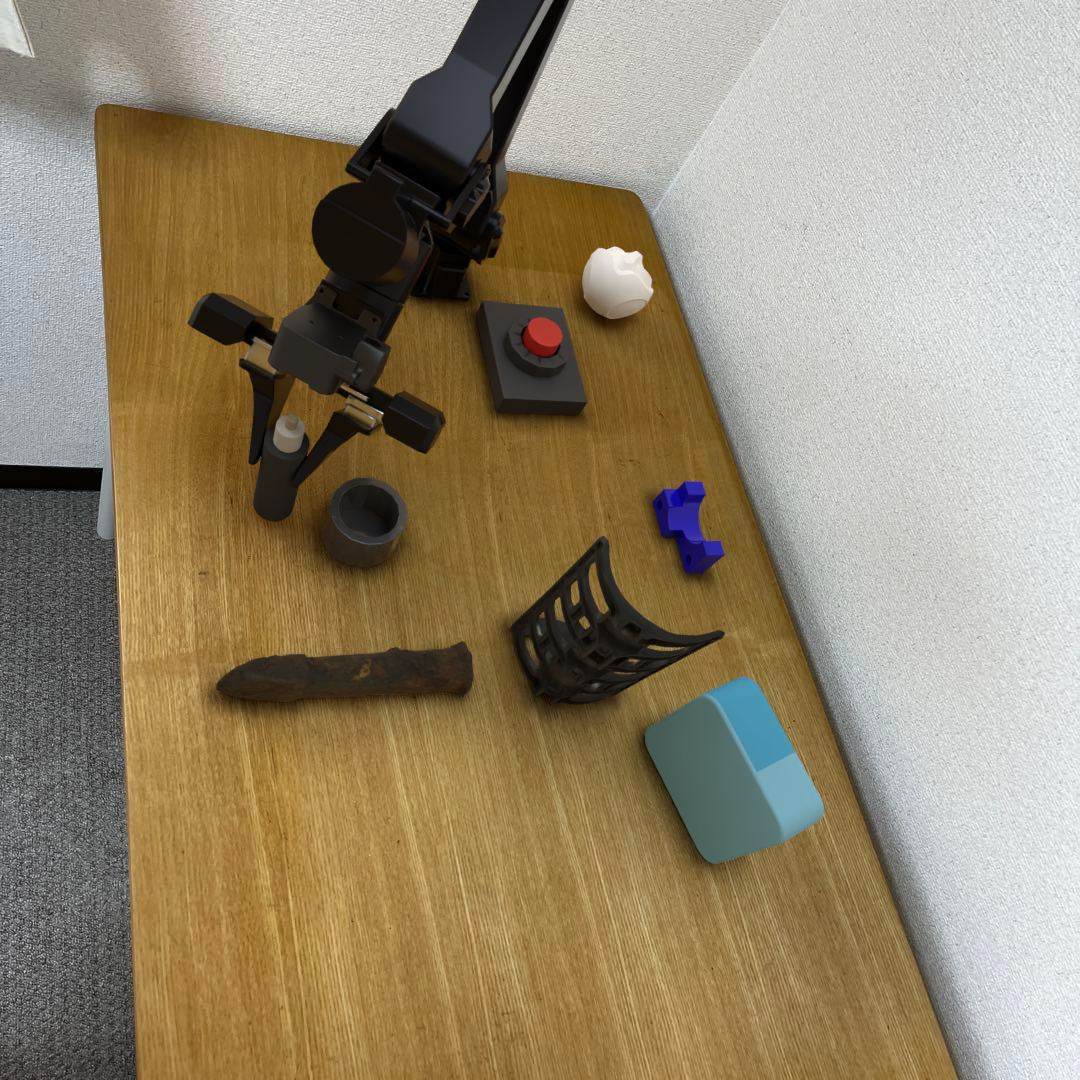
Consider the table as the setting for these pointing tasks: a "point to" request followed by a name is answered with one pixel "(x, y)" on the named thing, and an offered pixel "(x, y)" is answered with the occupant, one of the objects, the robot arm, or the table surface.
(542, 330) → the power button
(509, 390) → the switch box
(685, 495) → the cable holder
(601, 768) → the table surface
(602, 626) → the holder
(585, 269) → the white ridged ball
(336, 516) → the iron cup
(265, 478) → the capped grey cylinder
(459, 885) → the table surface
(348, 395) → the robot arm
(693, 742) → the data package
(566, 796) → the table surface
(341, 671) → the hand tool
